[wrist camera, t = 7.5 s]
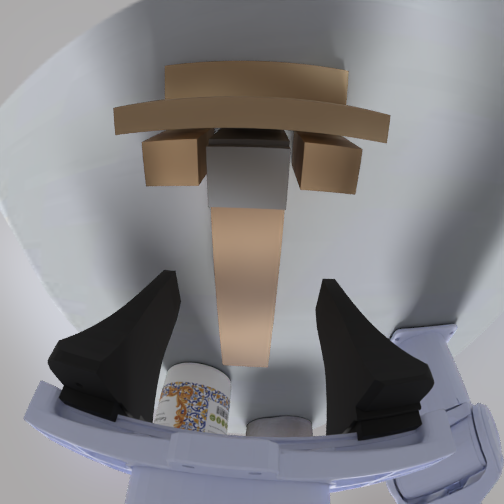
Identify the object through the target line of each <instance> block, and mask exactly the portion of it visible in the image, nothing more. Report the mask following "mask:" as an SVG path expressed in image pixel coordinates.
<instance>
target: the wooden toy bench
mask: <svg viewBox="0 0 504 504" xmlns="http://www.w3.org/2000/svg"><path fill="white" fill-rule="evenodd" d="M347 87H348V71H346V70H341V69H335V68H329V67H322V66H314V65H306V64H297V63H285V62H270V61H211V62H196V63H184V64H175V65H167V66H165V99H164V100H157V101H150V102H143V103H137V104H131V105H126V106H121V107H116V108H113V110H114V125H115V135H120V134H127V133H136V132H146V131H157V130H166V131H164V132H162V133H160V134H158V135H155V136H153V137H151V138H149V139H147V140H145V141H143V142H142V151H143V162H144V172H145V180H146V186H199V184H200V183H201V181H202V180H203V178H204V177H205V175H206V174H207V162H206V146H207V145H208V144H209V138H211V137H212V136H213V135H214V128H261V129H280V130H294V141H293V155H292V167H293V170H294V172H295V175H296V178H297V181H298V184H299V187H300V190H312V191H324V192H335V193H346V194H355V193H356V187H357V181H358V175H359V169H360V163H361V156H362V149H361V148H359V147H358V146H356V145H355V144H353V143H352V142H350V141H349V140H347V139H345V138H344V137H342V136H347V137H353V138H360V139H366V140H371V141H377V142H382V143H387V138H388V131H389V123H390V115H387V114H383V113H380V112H375V111H371V110H367V109H362V108H358V107H353V106H348V105H346V100H347Z"/></svg>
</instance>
